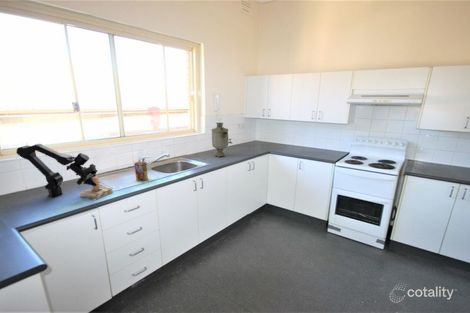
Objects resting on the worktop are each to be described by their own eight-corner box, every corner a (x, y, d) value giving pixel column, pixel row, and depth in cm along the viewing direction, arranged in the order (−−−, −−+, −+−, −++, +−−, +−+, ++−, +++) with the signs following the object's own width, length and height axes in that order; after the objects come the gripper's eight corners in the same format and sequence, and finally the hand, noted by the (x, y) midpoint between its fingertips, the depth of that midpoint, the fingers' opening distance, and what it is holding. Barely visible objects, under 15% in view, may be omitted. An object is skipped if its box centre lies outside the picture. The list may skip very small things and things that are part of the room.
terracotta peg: (96, 194, 161) (94, 178, 158) (92, 193, 163) (90, 177, 160) (101, 192, 165) (99, 176, 162) (97, 191, 166) (95, 176, 163)
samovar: (235, 159, 267) (236, 124, 257) (213, 159, 262) (212, 124, 252) (230, 153, 295) (231, 121, 286) (210, 153, 290) (209, 121, 280)
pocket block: (95, 199, 155) (94, 195, 154) (80, 196, 160) (80, 192, 159) (112, 192, 168) (112, 188, 167) (98, 189, 173) (98, 185, 172)
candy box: (147, 178, 198) (146, 161, 195) (147, 179, 194) (145, 162, 191) (136, 178, 196) (135, 161, 193) (135, 180, 192) (134, 162, 188)
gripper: (79, 165, 149) (99, 181, 153) (93, 158, 167) (110, 172, 171) (67, 177, 150) (88, 192, 154) (83, 168, 168) (100, 182, 172)
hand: (97, 184), depth 162 cm, fingers closed on terracotta peg, 4 cm apart
